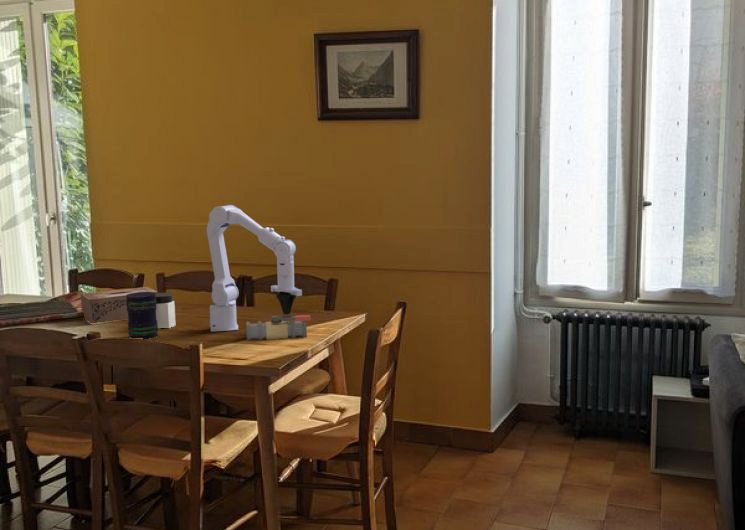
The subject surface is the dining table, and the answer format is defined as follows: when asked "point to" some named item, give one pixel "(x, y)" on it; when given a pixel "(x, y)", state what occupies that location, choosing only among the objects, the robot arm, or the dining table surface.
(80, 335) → the dining table surface
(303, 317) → the lever
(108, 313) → the tissue box cover
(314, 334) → the dining table surface
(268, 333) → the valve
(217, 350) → the dining table surface
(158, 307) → the jar
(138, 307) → the storage jar
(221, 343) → the dining table surface
